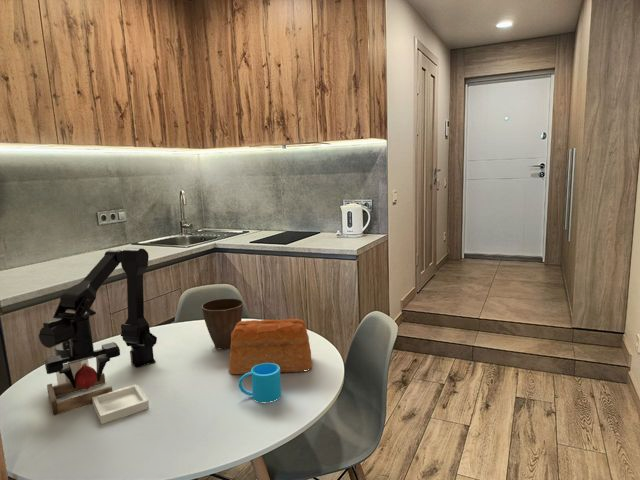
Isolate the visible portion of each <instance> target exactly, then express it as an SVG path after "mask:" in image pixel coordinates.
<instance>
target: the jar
mask: <svg viewBox="0 0 640 480" xmlns="http://www.w3.org/2000/svg"><path fill="white" fill-rule="evenodd" d="M54 354H55V355H54V356H58V355H60V356H61V359H62V358H66V357H70V356H72V355H71V354H70V349H68V350H63V347H62V343H60V344H58V345H56V346H54ZM84 363H85V364H86V365H87V366H90V365H89V359H86V360H82V361H78V362H74V363H70V364H69V365H70V368H71V370H72V374H73V377H74V380H75V375H76V373H77V371H78V370H79V369H80V368H82V365H83V364H84ZM55 375H56V384H57V385H60V384H64V383H67V382H70V380H69V379H68V378H67V376H66V375H65V374H64V373H62V374H59V372H55Z"/></svg>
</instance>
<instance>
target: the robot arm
mask: <svg viewBox="0 0 640 480" xmlns="http://www.w3.org/2000/svg"><path fill="white" fill-rule="evenodd" d="M149 256H150V255H149V252H148V251H147V250H146V249H144V248H137V247H126V248H124V249H123V250H120V249H109V250H107V251H105V252H104V256H103V257H102V258H101V259H100V260H99V261H98V262H97V263H96V264H95V266H94V267H93V268H92V269H91V270H90V271H89V273H87V275H86V276H85V277H84V278H83V280H81V281H80V282H79V283H76V284H74V285H72V286H71V287H70V288H68V289H67V290H66V291H65V292H63V294H62V295H61V296H60V298H59V304H58V305H57V307H56V310H55V312H54V314H53V317H52V318H53V319H52V320H50V321H49V320H47V321H44V322H43V323H42V325H43V326H42V328H41V329H40V330H39V333H38V338H39V341H40V343H41V344H42V346H44V347H45V348H47V349H50V348H51V349H52V348H55V347H56V346H57V345H59V344H61V343H62V347H63V350H68V349H70V354H71V355H72V356H70V357H66V358H62V359H61V356H60V355H58V356H56V355H54V356H50V357H47V358H46V359H44V367H45V371H46V374H47V375H51V374H56V372H59V374H62V373H64V374H65V375H66V376H67V378H68V379H69V380H70V382H71V384H72V385H73V387H74V389H75V388H76V384H75V380H74V377H73V374H72V370H71V368H70V365H69V364H70V363H74V362H78V361H82V360H86V359H88V360H89V359H90V360H91V359H93V358H96V359H95V360H96V373H97V381H98V382H99V381H100V378H101V375H102V373H104V369H105V366H106V365H107V363H108V362H110V361H111V359H113V358H116V357H120V356H121V350H120V347H119V346H118V344H117V343H116V342H115V341H112V342H108V343H104V344H101V348H99V349H96V350H95V349H94V343H93V342H94V341H93V333H92V325H91V318H90V317H91V316H95V315H96V314H97V313H96V311H95V310H92V309H91V308H92V306H93V304H94V303H95V301H96V298H97V292H98V291H99V289H100V288H101V286H102V285H103V284H104V283H105V282H106V281H107V279H108V278H109V277H110V276H111V275H112V273H113V272H114V271H115V269H116V268H117V267H118V266H119V265H120V264H121V268H122V270H123V272H124V273H125V274H126V293H127V294H126V297H127V298H126V299H127V301H126V302H127V319H126V320H125V322H124V323H121V324H120V329H121V331H120V337H121V338H122V341H124V343H125V345H126V347H130V349H131V350H130V351H129V358H130V362H131V364H132V365H133V366H134V367H135V368H139V367H143V366H146V365H151V364H154V363H156V360H155V358H154V347H155V345H156V344H157V342H158V341H157V340H158V338H157V336H155V335H154V334H153V333H152V332H151V330H150V324H149V322H148V321H147V319H146V318H145V310H144V309H145V308H144V307H145V305H144V274H145V271H146V270H147V268H148V267H149V266H148V265H149ZM72 312H73V313H72ZM74 312H75V313H74Z"/></svg>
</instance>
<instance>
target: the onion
mask: <svg viewBox="0 0 640 480" xmlns="http://www.w3.org/2000/svg"><path fill="white" fill-rule="evenodd" d="M96 380H97V370H95V369H94V368H93V367H92V366H90V365H89V366H87V365H86V364H85V363H84V364H83V365H82V368H80V369H79V370H78V371H77V373H76V375H75V384H76V385H77V386H78V387H79V388H82V389H83V390H85V391H88V390H89V389H90V388H92V386H93V385H94V383H95V382H96ZM93 387H94V386H93Z"/></svg>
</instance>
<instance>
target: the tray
mask: <svg viewBox="0 0 640 480" xmlns="http://www.w3.org/2000/svg"><path fill="white" fill-rule="evenodd" d="M92 401H93V404H92V407H93V409H94V410H95V413H96V416H97V417H98V420H99V422H100V425H103V424H106V423H109V422H112V421H115V420H117V419H121V418H124V417H127V416H129V415H132V414H136V413H139V412H141V411H144V410H147V409H150V405H149V403H150V402H149V399H148V397H147V396H146V395H145V393H144V392H143V391H142V390H141V388H140V387H139V385H138V384H133V385H128V386H126V387H122V388H119V389H116V390H113V391H112V392H109V393H105V394H102V395H99V396H95V397H92Z"/></svg>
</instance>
